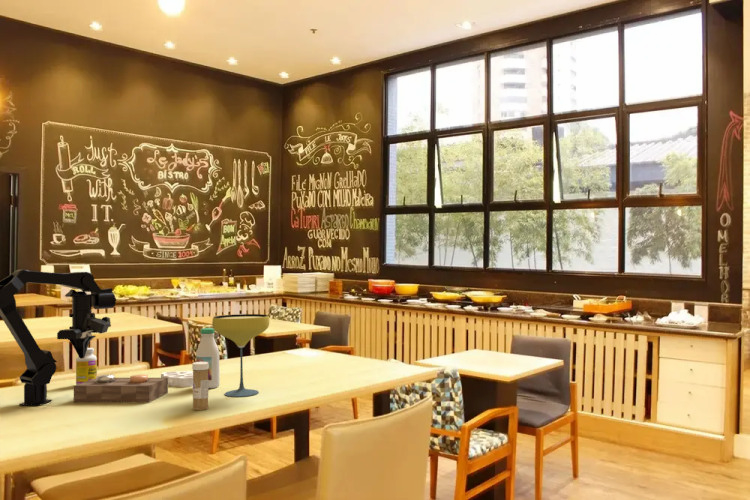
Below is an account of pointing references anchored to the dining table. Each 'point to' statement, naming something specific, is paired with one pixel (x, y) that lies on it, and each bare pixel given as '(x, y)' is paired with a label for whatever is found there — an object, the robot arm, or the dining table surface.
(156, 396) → the brown flat block
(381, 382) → the dining table surface
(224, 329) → the cocktail glass
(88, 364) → the supplement bottle
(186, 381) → the white recessed tray
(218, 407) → the dining table surface
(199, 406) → the sprinkles bottle
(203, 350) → the milk bottle
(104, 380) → the knob steel
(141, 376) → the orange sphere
